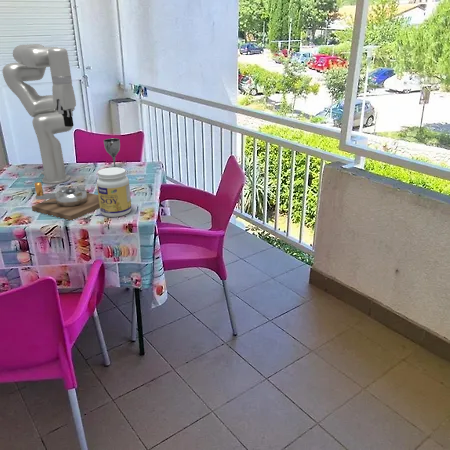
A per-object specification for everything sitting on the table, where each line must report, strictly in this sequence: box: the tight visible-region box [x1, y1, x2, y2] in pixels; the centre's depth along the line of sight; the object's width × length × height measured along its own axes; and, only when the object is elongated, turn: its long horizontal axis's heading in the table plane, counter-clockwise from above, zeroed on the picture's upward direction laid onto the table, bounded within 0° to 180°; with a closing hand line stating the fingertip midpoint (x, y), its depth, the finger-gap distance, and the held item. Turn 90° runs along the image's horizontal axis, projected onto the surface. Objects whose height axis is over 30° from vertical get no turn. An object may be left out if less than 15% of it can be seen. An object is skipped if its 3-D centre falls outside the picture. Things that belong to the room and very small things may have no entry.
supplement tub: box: [96, 166, 133, 218], centre depth 169 cm, size 12×12×17 cm
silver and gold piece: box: [33, 181, 87, 207], centre depth 175 cm, size 20×12×8 cm, turn 97°
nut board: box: [31, 192, 100, 221], centre depth 178 cm, size 22×22×2 cm
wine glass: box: [103, 137, 122, 168], centre depth 224 cm, size 8×8×15 cm
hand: (69, 126), depth 184 cm, fingers closed
